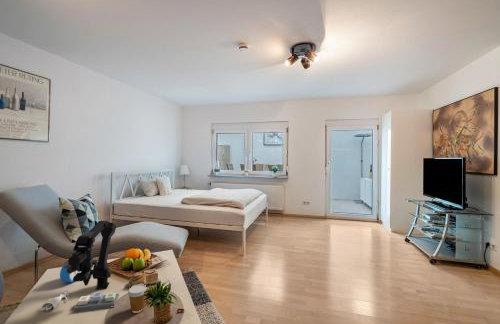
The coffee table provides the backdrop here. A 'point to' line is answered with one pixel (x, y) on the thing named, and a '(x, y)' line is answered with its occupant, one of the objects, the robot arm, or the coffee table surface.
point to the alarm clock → (66, 276)
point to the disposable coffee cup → (137, 297)
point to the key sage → (110, 297)
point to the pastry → (136, 279)
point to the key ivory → (84, 300)
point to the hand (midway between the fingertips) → (86, 285)
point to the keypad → (95, 304)
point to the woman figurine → (54, 301)
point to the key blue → (97, 296)
